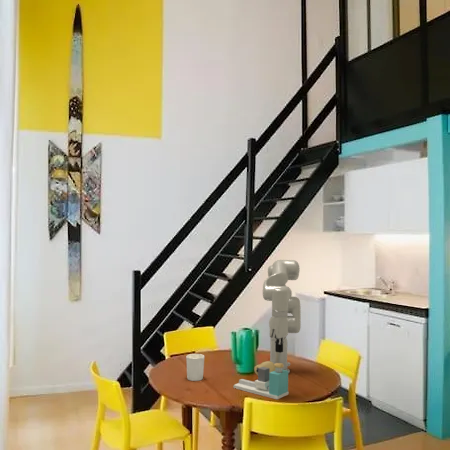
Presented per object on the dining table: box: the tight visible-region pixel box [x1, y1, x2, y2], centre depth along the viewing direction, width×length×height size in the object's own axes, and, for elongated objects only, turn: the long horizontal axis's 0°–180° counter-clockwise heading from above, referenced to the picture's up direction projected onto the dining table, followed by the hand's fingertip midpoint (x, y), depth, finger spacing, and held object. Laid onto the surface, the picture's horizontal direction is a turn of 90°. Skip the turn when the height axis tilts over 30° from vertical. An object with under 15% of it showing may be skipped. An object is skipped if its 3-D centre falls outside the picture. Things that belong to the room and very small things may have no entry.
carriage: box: [254, 367, 270, 390], centre depth 247 cm, size 7×6×10 cm
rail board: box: [233, 370, 289, 400], centre depth 248 cm, size 10×26×12 cm, turn 52°
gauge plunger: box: [274, 363, 284, 373], centre depth 242 cm, size 4×4×7 cm
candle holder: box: [185, 353, 205, 382], centre depth 267 cm, size 10×10×12 cm
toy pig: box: [253, 360, 276, 376], centre depth 264 cm, size 10×12×11 cm
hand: (279, 351), depth 242 cm, fingers closed
